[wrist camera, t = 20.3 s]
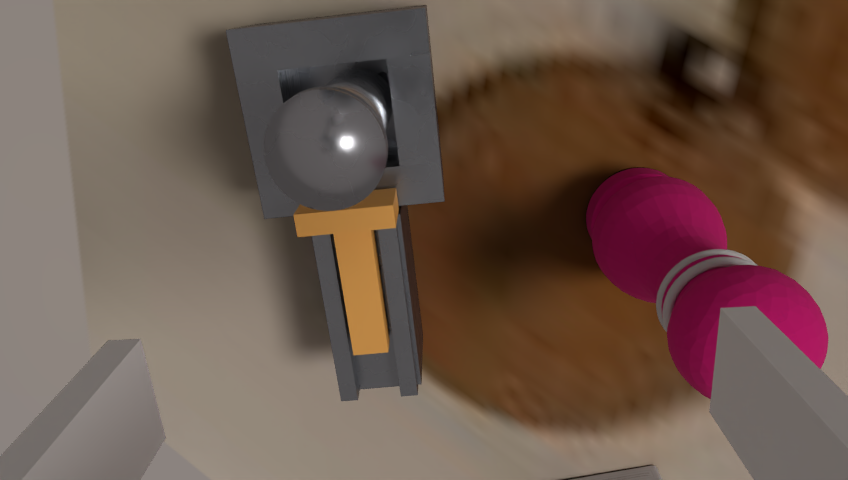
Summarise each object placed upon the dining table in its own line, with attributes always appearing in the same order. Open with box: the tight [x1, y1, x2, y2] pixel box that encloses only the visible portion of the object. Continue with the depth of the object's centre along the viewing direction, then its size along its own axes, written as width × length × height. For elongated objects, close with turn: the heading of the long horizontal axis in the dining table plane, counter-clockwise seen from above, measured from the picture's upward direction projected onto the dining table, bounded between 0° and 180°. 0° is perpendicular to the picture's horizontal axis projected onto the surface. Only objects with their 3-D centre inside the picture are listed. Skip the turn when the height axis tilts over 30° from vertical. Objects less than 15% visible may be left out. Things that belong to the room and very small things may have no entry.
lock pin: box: [293, 188, 399, 355], centre depth 35 cm, size 9×5×3 cm, turn 6°
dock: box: [226, 5, 444, 401], centre depth 38 cm, size 22×10×7 cm, turn 6°
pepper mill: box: [586, 168, 828, 399], centre depth 32 cm, size 7×7×20 cm
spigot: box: [263, 68, 393, 211], centre depth 32 cm, size 5×5×13 cm
